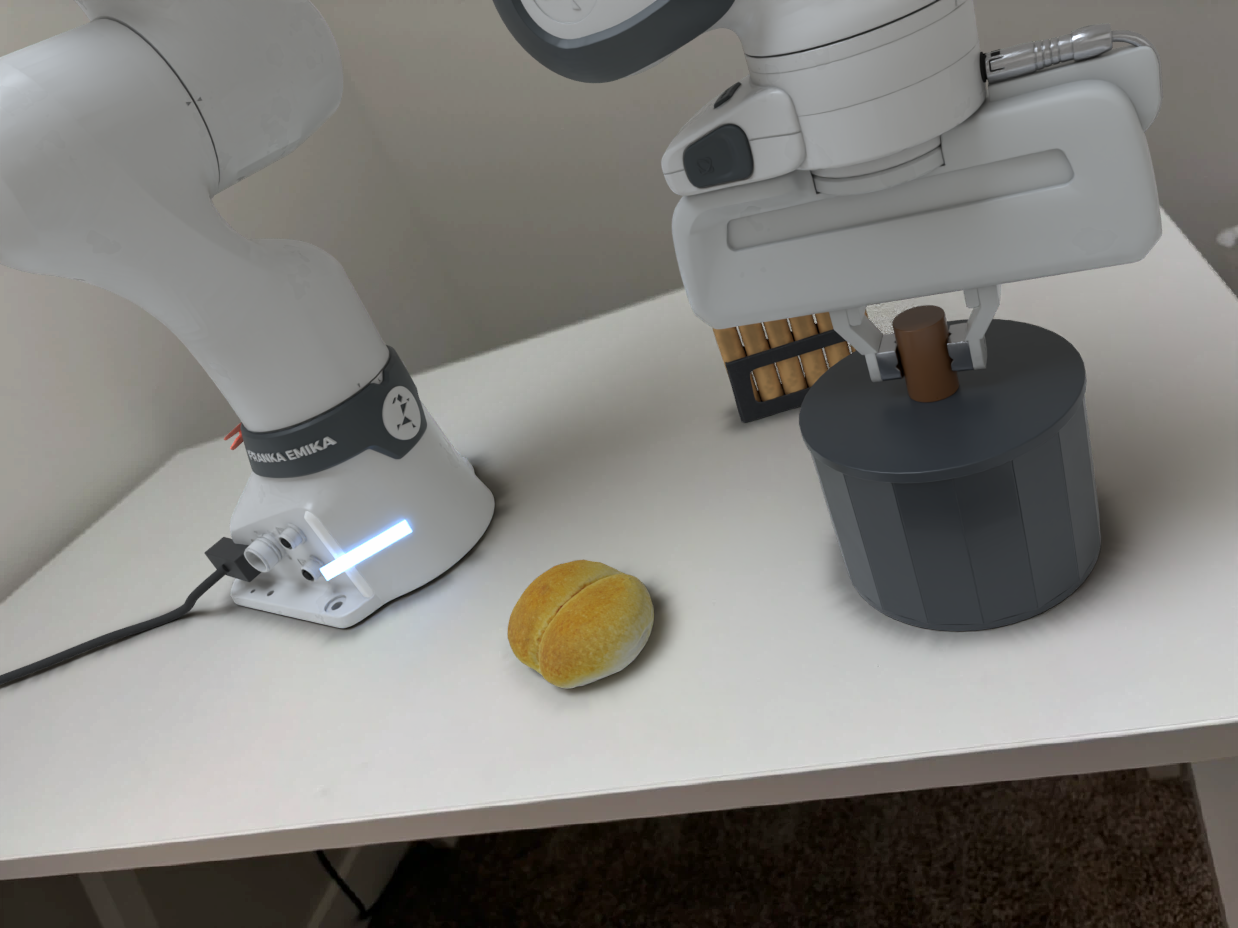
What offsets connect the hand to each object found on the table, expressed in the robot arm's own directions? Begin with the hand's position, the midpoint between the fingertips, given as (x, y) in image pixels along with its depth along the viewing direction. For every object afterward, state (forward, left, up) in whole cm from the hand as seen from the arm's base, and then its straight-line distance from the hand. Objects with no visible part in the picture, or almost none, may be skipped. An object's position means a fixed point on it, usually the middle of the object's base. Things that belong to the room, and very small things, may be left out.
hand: (928, 369), depth 46 cm
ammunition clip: (-12, +17, -11) cm, 24 cm away
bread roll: (-21, -7, -11) cm, 25 cm away
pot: (0, 0, -11) cm, 11 cm away
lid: (0, 0, -2) cm, 2 cm away
